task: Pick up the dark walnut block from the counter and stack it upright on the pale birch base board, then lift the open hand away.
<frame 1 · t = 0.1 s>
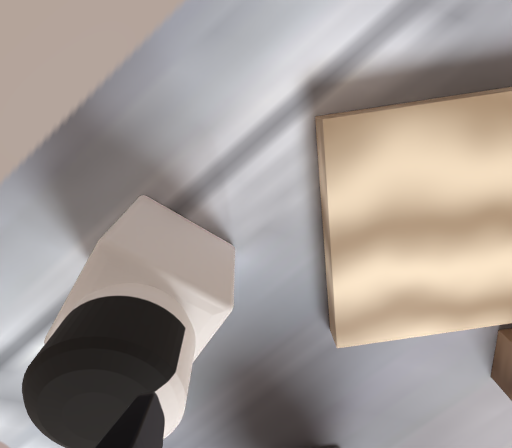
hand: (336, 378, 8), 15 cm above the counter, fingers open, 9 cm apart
medicine bottle: (166, 258, 23), on the counter
birch base: (439, 220, 23), on the counter
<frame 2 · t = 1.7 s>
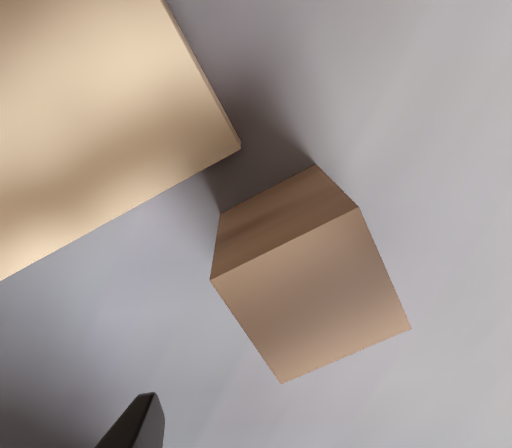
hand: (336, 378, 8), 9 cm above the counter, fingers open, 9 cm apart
walnut block: (290, 232, 16), on the counter
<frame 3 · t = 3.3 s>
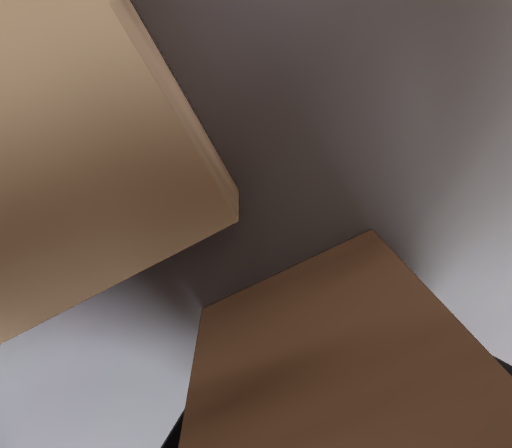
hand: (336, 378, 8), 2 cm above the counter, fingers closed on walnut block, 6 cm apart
walnut block: (320, 336, 10), on the counter, touching gripper
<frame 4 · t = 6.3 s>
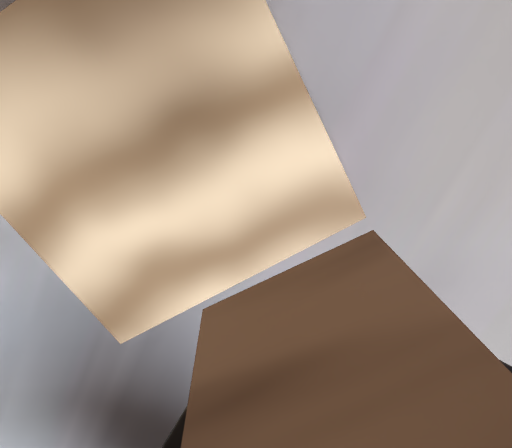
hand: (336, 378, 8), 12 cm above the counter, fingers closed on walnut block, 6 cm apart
birch base: (160, 154, 18), on the counter
walnut block: (321, 337, 10), point 11 cm above the counter, touching gripper
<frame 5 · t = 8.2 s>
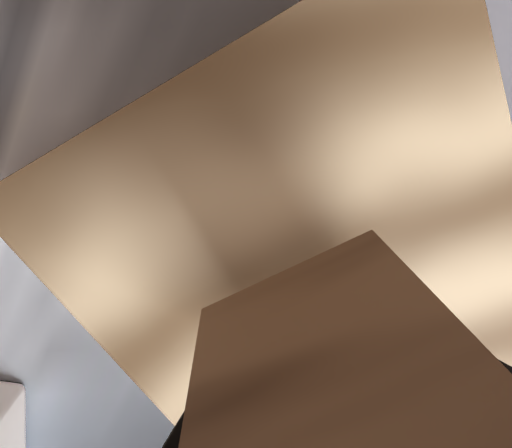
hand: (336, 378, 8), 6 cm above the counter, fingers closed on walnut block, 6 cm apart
birch base: (296, 258, 14), on the counter
walnut block: (320, 336, 10), point 5 cm above the counter, touching gripper
when the fingers open (4 cm above the counter, at t = 9.5 s): walnut block stays where it is, resting on birch base.
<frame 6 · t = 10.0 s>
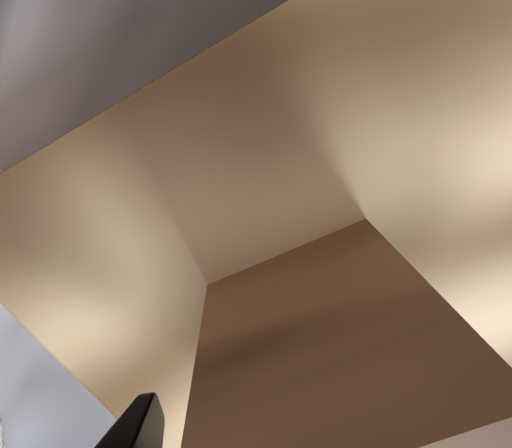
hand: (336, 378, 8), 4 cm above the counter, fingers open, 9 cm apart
birch base: (303, 281, 12), on the counter
walnut block: (314, 316, 11), point 2 cm above the counter, touching birch base
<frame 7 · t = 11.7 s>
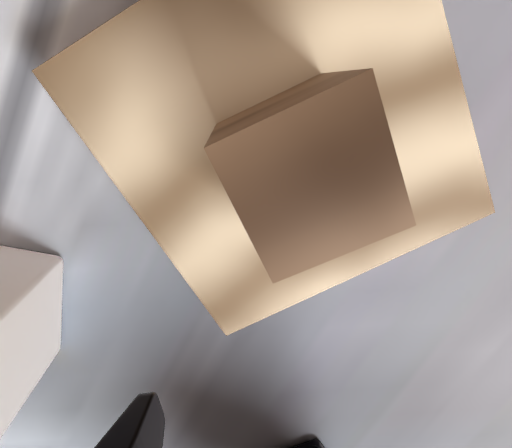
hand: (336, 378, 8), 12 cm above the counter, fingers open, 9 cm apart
medicine bottle: (4, 292, 20), on the counter
birch base: (284, 142, 17), on the counter
walnut block: (289, 151, 16), point 2 cm above the counter, touching birch base
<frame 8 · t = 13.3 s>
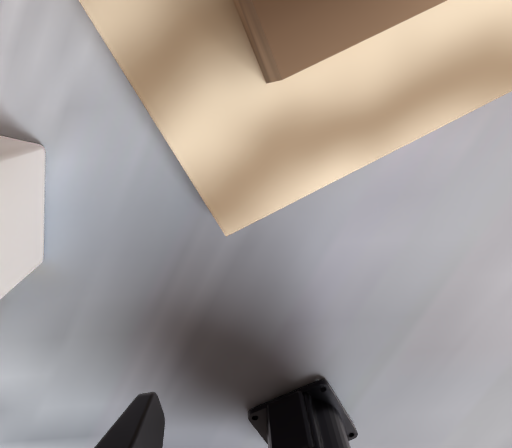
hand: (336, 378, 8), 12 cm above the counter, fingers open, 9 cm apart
birch base: (291, 5, 16), on the counter
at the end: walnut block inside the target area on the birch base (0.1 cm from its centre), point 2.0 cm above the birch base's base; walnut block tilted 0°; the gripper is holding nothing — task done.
